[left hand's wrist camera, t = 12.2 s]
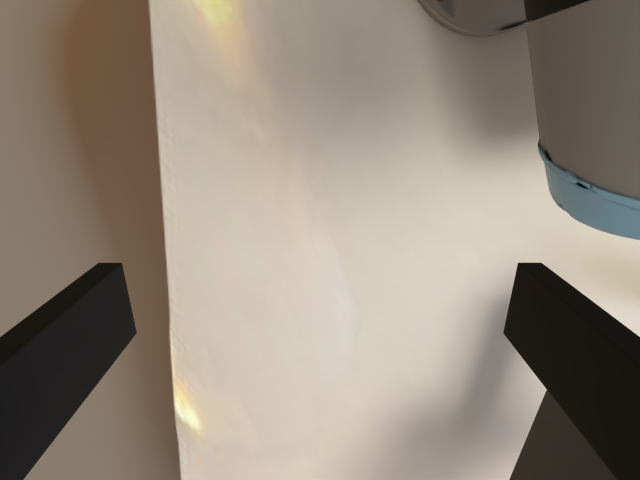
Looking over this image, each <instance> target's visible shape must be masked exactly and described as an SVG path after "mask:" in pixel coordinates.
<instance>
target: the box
mask: <svg viewBox="0 0 640 480" xmlns="http://www.w3.org/2000/svg"><path fill="white" fill-rule="evenodd" d="M510 480H617V479H616V478H615V477H614V475H613V474H612V473H611V472H610V470H609V469H608V468H607V466H606V465H605V464H604V462H603V461H602V460H601V459H600V457H599V456H598V455H597V453H596V452H595V451H594V450H593V448H592V447H591V446H590V444H589V443H588V442H587V441H586V439H585V438H584V437H583V435H582V434H581V433H580V431H579V430H578V429H577V428H576V426H575V425H574V424H573V422H572V421H571V420H570V419H569V417H568V416H567V415H566V413H565V412H564V411H563V409H562V408H561V407H560V406H559V404H558V403H557V402H556V400H555V399H554V398H553V397H552V395H551V394H550V393H549V391H548V390H547V391H546V393H545V396H544V398H543V400H542V403H541V405H540V408H539V410H538V412H537V415H536V417H535V420H534V422H533V424H532V427H531V429H530V432H529V434H528V436H527V439H526V441H525V444H524V446H523V448H522V451H521V453H520V456H519V458H518V460H517V463H516V465H515V468H514V470H513V472H512V475H511V477H510Z"/></svg>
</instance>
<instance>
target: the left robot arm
mask: <svg viewBox="0 0 640 480" xmlns="http://www.w3.org/2000/svg"><path fill="white" fill-rule="evenodd" d="M419 2H420V3H421V4H422V6H423V7H424V9H425V10H426V11H427V12H428V13H429V14H430V15H431V16H432V17H433V18H434V19H435V20H436V21H437V22H439V23H440V24H442V25H443V26H445V27H447V28H448V29H451V30H453V31H455V32H458V33H461V34H466V35H471V36H488V35H494V34H499V33H503V32H506V31H509V30H512V29H514V28H517V27H519V26H521V25H523V24H525V23H526V28H527V36H528V44H529V51H530V59H531V67H532V75H533V84H534V93H535V102H536V110H537V119H538V128H539V142H538V151H539V154H540V156H541V158H542V160H543V161H544V164H545V169H546V175H547V180H548V186H549V190H550V193H551V196H552V198H553V199H554V201H555V202H556V204H557V205H558V206H559V207H560V208H562V209H563V210H565V211H566V212H567V213H569V214H570V216H571V217H573V218H574V219H576V220H577V221H579V222H581V223H583V224H586V225H588V226H590V227H592V228H595V229H598V230H601V231H604V232H607V233H610V234H614V235H618V236H622V237H627V238H632V239H637V240H640V0H586V1H585V0H419ZM577 3H578V4H577ZM574 4H575V5H574ZM569 6H570V7H569ZM566 7H567V8H566ZM563 8H564V9H563ZM558 10H559V11H558ZM555 11H556V12H555ZM552 12H553V13H552ZM550 13H551V14H550ZM547 14H548V15H547ZM544 15H545V16H544ZM542 16H543V17H542ZM539 17H540V18H539ZM531 20H532V21H531ZM524 26H525V25H524ZM521 27H522V26H521ZM135 334H136V328H135V323H134V318H133V314H132V309H131V304H130V300H129V295H128V290H127V285H126V280H125V276H124V271H123V266H122V263H98V264H97V265H95V266H94V267H93V268H91V269H90V270H89V271H87V272H86V273H85V274H83V275H82V276H81V277H79V278H78V279H77V280H75V281H74V282H73V283H71V284H70V285H69V286H67V287H66V288H65V289H64V290H62V291H61V292H59V293H58V294H57V295H56V296H54V297H53V298H52V299H50V300H49V301H48V302H46V303H45V304H44V305H42V306H41V307H40V308H38V309H37V310H36V311H34V312H33V313H32V314H30V315H29V316H28V317H26V318H25V319H24V320H22V321H21V322H20V323H18V324H17V325H16V326H15V327H13V328H12V329H11V330H9V331H8V332H7V333H5V334H4V335H2V336H1V337H0V480H23V479H24V478H25V477H26V475H27V474H28V473H29V472H30V470H31V469H32V468H33V466H34V465H35V464H36V462H37V461H38V460H39V459H40V457H41V456H42V455H43V453H44V452H45V451H46V449H47V448H48V447H49V446H50V444H51V443H52V442H53V441H54V439H55V438H56V437H57V435H58V434H59V433H60V431H61V430H62V429H63V427H64V426H65V425H66V424H67V422H68V421H69V420H70V419H71V417H72V416H73V415H74V413H75V412H76V411H77V409H78V408H79V407H80V406H81V404H82V403H83V402H84V400H85V399H86V398H87V397H88V395H89V394H90V393H91V391H92V390H93V389H94V387H95V386H96V385H97V384H98V382H99V381H100V380H101V378H102V377H103V376H104V375H105V373H106V372H107V371H108V369H109V368H110V367H111V365H112V364H113V363H114V362H115V360H116V359H117V358H118V356H119V355H120V354H121V353H122V351H123V350H124V349H125V347H126V346H127V345H128V344H129V342H130V341H131V340H132V338H133V337H134V336H135ZM504 334H505V336H506V337H507V338H508V340H509V341H510V342H511V344H512V345H513V346H514V347H515V349H516V350H517V351H518V353H519V354H520V355H521V356H522V358H523V359H524V360H525V362H526V363H527V364H528V366H529V367H530V368H531V369H532V371H533V372H534V373H535V375H536V376H537V377H538V378H539V380H540V381H541V382H542V384H543V385H544V386H545V387H546V389H547V390H548V391H549V393H550V394H551V395H552V397H553V398H554V399H555V400H556V402H557V403H558V404H559V406H560V407H561V408H562V409H563V411H564V412H565V413H566V415H567V416H568V417H569V419H570V420H571V421H572V422H573V424H574V425H575V426H576V428H577V429H578V430H579V431H580V433H581V434H582V435H583V437H584V438H585V439H586V441H587V442H588V443H589V444H590V446H591V447H592V448H593V450H594V451H595V452H596V453H597V455H598V456H599V457H600V459H601V460H602V461H603V462H604V464H605V465H606V466H607V468H608V469H609V470H610V472H611V473H612V474H613V475H614V477H615V478H616V479H617V480H640V337H639V336H638V335H636V334H635V333H634V332H632V331H631V330H630V329H628V328H627V327H626V326H624V325H623V324H622V323H620V322H619V321H618V320H616V319H615V318H614V317H612V316H611V315H610V314H608V313H607V312H606V311H604V310H603V309H602V308H600V307H599V306H598V305H596V304H595V303H594V302H592V301H591V300H590V299H588V298H587V297H586V296H584V295H583V294H582V293H581V292H579V291H578V290H577V289H575V288H574V287H573V286H571V285H570V284H569V283H567V282H566V281H565V280H563V279H562V278H561V277H559V276H558V275H557V274H555V273H554V272H553V271H551V270H550V269H549V268H547V267H546V266H545V265H543V264H542V263H518V266H517V271H516V276H515V280H514V285H513V290H512V295H511V299H510V304H509V309H508V314H507V318H506V323H505V328H504Z"/></svg>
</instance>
